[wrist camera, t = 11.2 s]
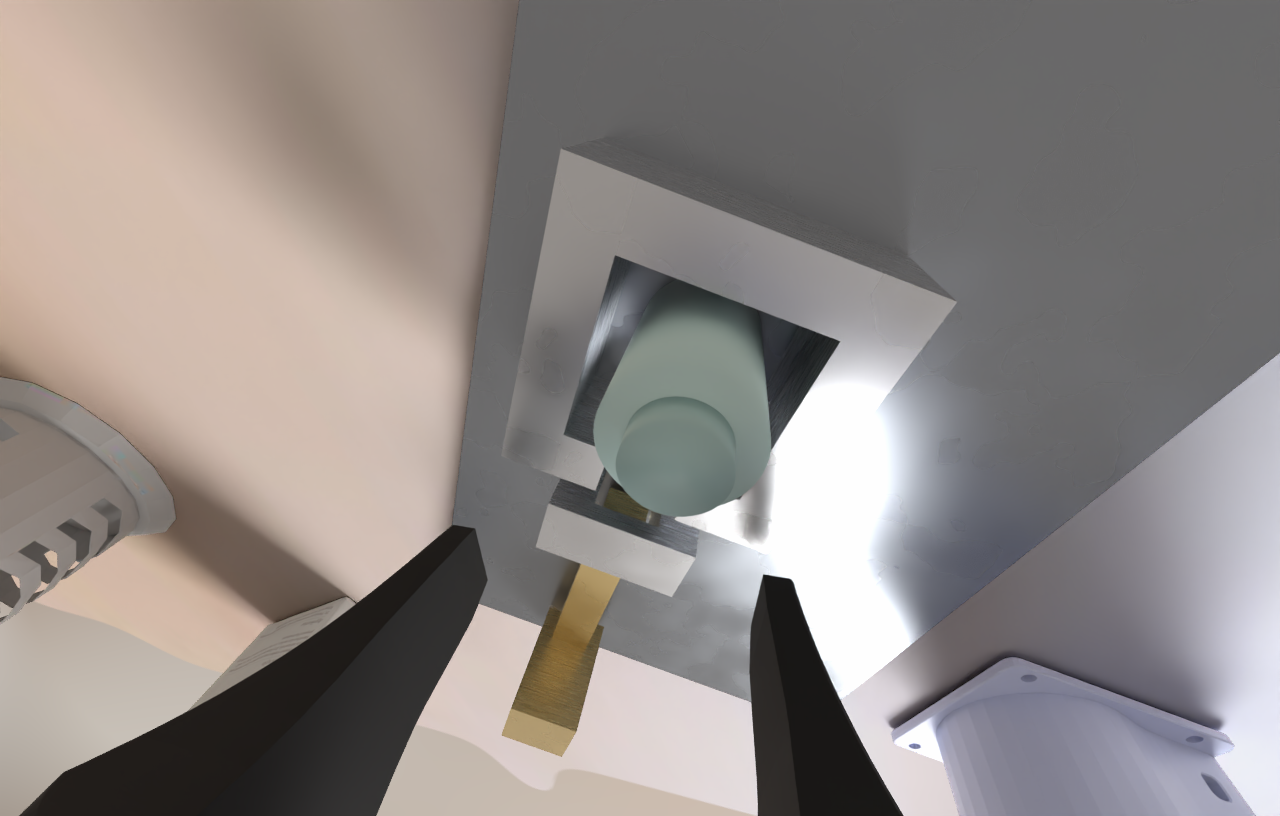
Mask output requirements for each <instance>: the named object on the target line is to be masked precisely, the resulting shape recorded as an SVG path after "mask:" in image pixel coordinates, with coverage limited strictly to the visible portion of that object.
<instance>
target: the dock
mask: <svg viewBox="0 0 1280 816" xmlns="http://www.w3.org/2000/svg"><path fill="white" fill-rule="evenodd" d="M677 279H679V280H681V281H684V282H687V283H689V284H692V285H695V286H697V287H700V288H702V289H705V290H708V291H710V292H713V293H715V294H718V295H721V296H723V297H726V298H729V299H731V300H734V301H736V302H739V303H742V304H744V305H747V306H749V307H752V308H755V309H756V310H757V312H758V315H759V318H760V323H761V331H762V342H763V353H764V365H765V376H766V387H767V398H768V410H769V421H770V432H771V452H770V458H769V461H768V464H767V467H766V468H765V470H764V472H763V474H762V476H761V477H760V478H759V480H758V481H757V482H756V484H755V485H754V486H753V487H752V488H751V489H750V490H748V491H747V492H746V493H744V494H743V495H742V496H740V497H738V498H736V499H735V500H733V501H731V502H728V503H726V504H724V505H720V506H718V507H716V508H714V509H713V510H711V511H708V512H706V513H703V514H700V515H695V516H687V517H676V516H668V515H663V514H660V513H657V512H654V511H652V510H648V514H647V519H646V522H643V521H640V520H638V519H635V518H632V517H630V516H627V515H624V514H622V513H619V512H616V511H613V510H611V509H608V508H605V507H603V504H604V502H605V499H606V497H607V494H608V491H609V489H610V488H613V489H616V490H619V491H621V492H624V493H626V491H625V490H624V488H623V487H622V486H621V485H620V484H618V483H617V482H616V481H615V480H614V479H613V478H612V476H611V475H610V474H609V473H608V471H607V470H606V469H605V467H604V466H603V464H602V462H601V460H600V458H599V456H598V453H597V451H596V447H595V443H594V434H593V429H594V420H595V416H596V412H597V410H598V408H599V405H600V403H601V401H602V399H603V397H604V395H605V393H606V391H607V388H608V386H609V384H610V382H611V380H612V378H613V376H614V374H615V372H616V370H617V368H618V366H619V363H620V361H621V359H622V357H623V355H624V353H625V351H626V349H627V347H628V345H629V343H630V340H631V338H632V336H633V334H634V332H635V330H636V328H637V326H638V324H639V322H640V320H641V317H642V315H643V313H644V311H645V309H646V307H647V305H648V304H649V302H650V300H651V299H652V298H653V297H654V295H655V294H656V293H657V292H658V291H659V290H660V289H662V288H663V287H664V286H666V285H667V284H669V283H671V282H673V281H675V280H677ZM1279 353H1280V0H519V6H518V14H517V22H516V30H515V38H514V45H513V53H512V61H511V69H510V77H509V84H508V92H507V100H506V108H505V116H504V123H503V131H502V139H501V147H500V155H499V162H498V170H497V178H496V186H495V194H494V201H493V209H492V217H491V225H490V233H489V240H488V248H487V256H486V264H485V272H484V279H483V287H482V295H481V303H480V311H479V318H478V326H477V334H476V342H475V350H474V357H473V365H472V373H471V381H470V389H469V397H468V404H467V412H466V420H465V428H464V436H463V443H462V451H461V459H460V467H459V475H458V482H457V490H456V498H455V506H454V514H453V521H452V525H458V526H464V527H470V528H475V529H476V534H477V538H478V542H479V546H480V550H481V554H482V558H483V562H484V567H485V571H486V575H487V579H488V581H487V584H486V586H485V589H484V591H483V594H482V597H481V599H480V602H479V604H481V605H484V606H487V607H490V608H493V609H495V610H498V611H501V612H504V613H506V614H509V615H512V616H515V617H517V618H520V619H523V620H526V621H528V622H531V623H534V624H537V625H539V626H542V627H543V624H544V621H545V619H546V616H547V613H548V611H549V608H550V607H551V608H554V609H557V610H559V611H562V608H563V606H564V603H565V600H566V598H567V595H568V593H569V590H570V588H571V585H572V583H573V580H574V578H575V575H576V573H577V570H578V567H579V565H580V564H583V565H586V566H588V567H591V568H594V569H597V570H599V571H602V572H605V573H607V574H610V575H613V576H616V577H618V578H620V580H619V582H618V584H617V586H616V588H615V590H614V592H613V594H612V596H611V598H610V600H609V602H608V604H607V606H606V608H605V610H604V612H603V614H602V616H601V618H600V620H599V622H598V625H601V626H603V627H604V629H603V633H602V637H601V641H600V644H599V647H600V648H603V649H606V650H609V651H611V652H614V653H617V654H620V655H622V656H625V657H628V658H631V659H633V660H636V661H639V662H642V663H644V664H647V665H650V666H653V667H656V668H658V669H661V670H664V671H667V672H669V673H672V674H675V675H678V676H680V677H683V678H686V679H689V680H691V681H694V682H697V683H700V684H703V685H705V686H708V687H711V688H714V689H716V690H719V691H722V692H725V693H727V694H730V695H733V696H736V697H738V698H741V699H744V700H747V701H749V702H751V689H750V674H749V666H750V630H751V623H752V619H753V614H754V610H755V606H756V602H757V598H758V594H759V589H760V585H761V581H762V577H763V574H765V575H771V576H777V577H783V578H790V579H791V580H792V581H793V582H794V585H795V588H796V592H797V595H798V598H799V601H800V604H801V607H802V610H803V613H804V616H805V618H806V621H807V624H808V626H809V629H810V631H811V634H812V637H813V639H814V642H815V644H816V647H817V649H818V651H819V654H820V656H821V658H822V661H823V663H824V665H825V667H826V670H827V672H828V674H829V677H830V679H831V681H832V683H833V686H834V688H835V690H836V692H837V694H838V696H839V698H840V700H842V699H843V698H844V697H845V696H847V695H848V694H849V693H851V692H852V691H853V690H854V689H856V688H857V687H858V686H859V685H861V684H862V683H863V682H864V681H866V680H867V679H868V678H869V677H871V676H872V675H873V674H875V673H876V672H877V671H878V670H880V669H881V668H882V667H883V666H885V665H886V664H887V663H888V662H890V661H891V660H892V659H893V658H895V657H896V656H897V655H899V654H900V653H901V652H902V651H904V650H905V649H906V648H907V647H909V646H910V645H911V644H912V643H914V642H915V641H916V640H917V639H919V638H920V637H921V636H923V635H924V634H925V633H926V632H928V631H929V630H930V629H931V628H933V627H934V626H935V625H936V624H938V623H939V622H940V621H942V620H943V619H944V618H945V617H947V616H948V615H949V614H950V613H952V612H953V611H954V610H955V609H957V608H958V607H959V606H960V605H962V604H963V603H964V602H966V601H967V600H968V599H969V598H971V597H972V596H973V595H974V594H976V593H977V592H978V591H979V590H981V589H982V588H983V587H984V586H986V585H987V584H988V583H990V582H991V581H992V580H993V579H995V578H996V577H997V576H998V575H1000V574H1001V573H1002V572H1003V571H1005V570H1006V569H1007V568H1008V567H1010V566H1011V565H1012V564H1014V563H1015V562H1016V561H1017V560H1019V559H1020V558H1021V557H1022V556H1024V555H1025V554H1026V553H1027V552H1029V551H1030V550H1031V549H1032V548H1034V547H1035V546H1036V545H1038V544H1039V543H1040V542H1041V541H1043V540H1044V539H1045V538H1046V537H1048V536H1049V535H1050V534H1051V533H1053V532H1054V531H1055V530H1056V529H1058V528H1059V527H1060V526H1062V525H1063V524H1064V523H1065V522H1067V521H1068V520H1069V519H1070V518H1072V517H1073V516H1074V515H1075V514H1077V513H1078V512H1079V511H1081V510H1082V509H1083V508H1084V507H1086V506H1087V505H1088V504H1089V503H1091V502H1092V501H1093V500H1094V499H1096V498H1097V497H1098V496H1099V495H1101V494H1102V493H1103V492H1105V491H1106V490H1107V489H1108V488H1110V487H1111V486H1112V485H1113V484H1115V483H1116V482H1117V481H1118V480H1120V479H1121V478H1122V477H1123V476H1125V475H1126V474H1127V473H1129V472H1130V471H1131V470H1132V469H1134V468H1135V467H1136V466H1137V465H1139V464H1140V463H1141V462H1142V461H1144V460H1145V459H1146V458H1147V457H1149V456H1150V455H1151V454H1153V453H1154V452H1155V451H1156V450H1158V449H1159V448H1160V447H1161V446H1163V445H1164V444H1165V443H1166V442H1168V441H1169V440H1170V439H1171V438H1173V437H1174V436H1175V435H1177V434H1178V433H1179V432H1180V431H1182V430H1183V429H1184V428H1185V427H1187V426H1188V425H1189V424H1190V423H1192V422H1193V421H1194V420H1195V419H1197V418H1198V417H1199V416H1201V415H1202V414H1203V413H1204V412H1206V411H1207V410H1208V409H1209V408H1211V407H1212V406H1213V405H1214V404H1216V403H1217V402H1218V401H1220V400H1221V399H1222V398H1223V397H1225V396H1226V395H1227V394H1228V393H1230V392H1231V391H1232V390H1233V389H1235V388H1236V387H1237V386H1238V385H1240V384H1241V383H1242V382H1244V381H1245V380H1246V379H1247V378H1249V377H1250V376H1251V375H1252V374H1254V373H1255V372H1256V371H1257V370H1259V369H1260V368H1261V367H1262V366H1264V365H1265V364H1266V363H1268V362H1269V361H1270V360H1271V359H1273V358H1274V357H1275V356H1276V355H1278V354H1279Z"/></svg>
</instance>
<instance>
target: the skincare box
mask: <svg viewBox="0 0 1280 816" xmlns="http://www.w3.org/2000/svg"><path fill="white" fill-rule="evenodd" d="M355 604H356V603H355V602H354V601H352V600H351V599H350V598H348V597H344V598H341V599H338V600H336V601H333V602H330V603H328V604H325V605H322V606H319V607H317V608H314V609H311V610H309V611H306V612H303V613H300V614H297V615H295V616H292V617H289V618H287V619H285V620H282V621H279V622H276V623H273V624H270V625H268V626H267V627H266V628H265V629H264V630H263V631H262V632H261V633H260V634H259V635H258V636H257V638H256V639H255V640H254V641H253V642H252V643H251V644H250V645H249V646H248V647H247V648H246V649H245V650H244V651H243V652H242V654H241V655H240V656H239V657H238V658H237V659H236V660H235V661H234V662H233V663H232V664H231V665H230V666H229V668H228V669H227V670H226V671H225V672H224V673H223V674H222V675H221V676H220V677H219V678H218V679H217V680H216V681H215V683H214V684H213V685H212V686H211V687H210V688H209V689H208V690H207V691H206V692H205V693H204V694H203V695H202V697H201V698H200V699H199V700H198V701H197V702H196V703H195V704H194V705H193V706H192V707H191V708H190V709H189V710H191V709H193V708H195V707H197V706H198V705H200V704H202V703H204V702H206V701H207V700H209V699H211V698H213V697H215V696H217V695H218V694H220V693H222V692H224V691H225V690H227V689H229V688H230V687H232V686H234V685H235V684H237V683H239V682H240V681H242V680H244V679H245V678H247V677H249V676H250V675H252V674H254V673H255V672H257V671H259V670H260V669H262V668H264V667H265V666H267V665H269V664H270V663H272V662H273V661H275V660H277V659H278V658H280V657H281V656H283V655H285V654H286V653H288V652H289V651H291V650H292V649H294V648H295V647H297V646H298V645H300V644H301V643H303V642H304V641H306V640H307V639H309V638H310V637H311V636H313V635H314V634H316V633H317V632H319V631H320V630H321V629H323V628H324V627H326V626H327V625H329V624H330V623H331V622H333V621H334V620H335V619H337V618H338V617H339V616H341V615H342V614H343V613H345V612H346V611H347V610H349V609H350V608H351V607H353V606H354V605H355ZM189 710H188V711H189Z"/></svg>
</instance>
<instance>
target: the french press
mask: <svg viewBox="0 0 1280 816" xmlns="http://www.w3.org/2000/svg"><path fill="white" fill-rule="evenodd" d="M175 520H176V515H175V508H174V502H173V496H172V495H171V493H170V492H169V490H168V488H167V487H166V485H165V484H164V482H163V481H162V479H161V477H160V476H159V474H158V473H157V471H156V470H155V468H154V467H153V466H152V465H151V464H150V463H149V462H148V461H147V460H146V459H145V458H144V457H143V456H142V455H141V454H140V453H139V452H138V451H137V450H136V449H135V448H134V447H133V446H132V445H131V444H130V443H129V442H128V441H127V440H126V439H125V438H124V437H123V436H122V435H121V434H120V433H119V432H117V431H116V430H114V429H113V428H111V427H110V426H108V425H107V424H106V423H104V422H103V421H101V420H100V419H98V418H97V417H96V416H94V415H93V414H91V413H90V412H88V411H87V410H86V409H84V408H83V407H81V406H80V405H78V404H77V403H75V402H72V401H70V400H68V399H66V398H64V397H62V396H60V395H57V394H55V393H53V392H51V391H49V390H47V389H45V388H42V387H40V386H38V385H36V384H34V383H30V382H25V381H19V380H14V379H9V378H3V377H0V601H1V602H3V603H4V604H6V605H8V606H9V607H11V608H13V609H12V611H11V612H10V614H9V615H7V616H5V617H2V618H0V624H2V623H3V622H5V621H6V620H8V619H10V618H11V617H13V616H14V615H16V614H17V613H18V612H19V611H20V610H21V609H22V607H23V606H24V605H25V604H27V603H30V602H33V601H34V600H36V599H37V598H39V597H40V596H42V595H43V594H45V593H46V592H48V591H49V590H51V589H53V588H54V587H55V586H56V584H57V583H58V582H59V581H60V580H62V579H65V578H67V577H69V576H70V575H72V574H73V573H74V572H76V571H77V570H79V569H80V568H82V567H83V566H84V565H85V564H86V563H87V562H88V561H89V560H90V559H91V558H94V557H97V556H99V555H100V554H101V553H103V552H104V551H106V550H107V549H108V548H110V547H111V546H113V545H114V544H115V543H117V542H118V541H120V540H121V539H123V538H124V537H125V536H136V535H148V534H155V533H162V532H166V531H167V530H168V528H169V527H170V526H171V525H172V523H173V522H174V521H175ZM50 550H52V551H54V552H56V553H57V566H58V568H56V567H54V566H52V565H50V563H49V562H48V560H47V558H46V557H45V555H44V554H45V553H47V552H48V551H50ZM75 561H77V562H80V563H79V564H78V565H77V566H76V567H75V568H74V569H70V570H69V568H70V567H71V566H72V565H73V563H74V562H75ZM11 575H13V576H15V577H18V578H20V589H19V588H18V587H17V586H16V584H15V582H14V580H13V578H12V577H11ZM41 581H43V582H45V583H47V584H48V583H50V584H49V585H48V587H47V588H46V589H45V590H43V591H40V592H37V593H35V591H36V590H37V589H38V588H39V586H40V585H41Z"/></svg>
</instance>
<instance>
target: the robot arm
mask: <svg viewBox="0 0 1280 816" xmlns="http://www.w3.org/2000/svg"><path fill="white" fill-rule="evenodd" d="M487 581H488V579H487V575H486V571H485V567H484V562H483V558H482V554H481V550H480V546H479V542H478V538H477V534H476V529H475V528H470V527H464V526H458V525H452V526H451V527H450V528H449V529H447V530H446V531H445V532H444V533H442V534H441V535H440V536H439V537H438V538H436V539H435V540H434V541H433V542H432V543H430V544H429V545H428V546H427V547H426V548H425V549H423V550H422V551H421V552H420V553H419V554H417V555H416V556H415V557H414V558H413V559H411V560H410V561H409V562H408V563H407V564H405V565H404V566H403V567H402V568H401V569H399V570H398V571H397V572H396V573H395V574H393V575H392V576H391V577H390V578H388V579H387V580H386V581H385V582H383V583H382V584H381V585H380V586H378V587H377V588H376V589H375V590H374V591H372V592H371V593H370V594H368V595H367V596H366V597H365V598H363V599H362V600H361V601H359V602H358V603H357V604H355V605H354V606H353V607H351V608H350V609H349V610H347V611H346V612H345V613H343V614H342V615H341V616H339V617H338V618H337V619H335V620H334V621H333V622H331V623H330V624H329V625H327V626H326V627H324V628H323V629H321V630H320V631H319V632H317V633H316V634H314V635H313V636H311V637H310V638H309V639H307V640H306V641H304V642H303V643H301V644H300V645H298V646H297V647H295V648H294V649H292V650H291V651H289V652H288V653H286V654H285V655H283V656H281V657H280V658H278V659H277V660H275V661H273V662H272V663H270V664H269V665H267V666H265V667H264V668H262V669H260V670H259V671H257V672H255V673H254V674H252V675H250V676H249V677H247V678H245V679H244V680H242V681H240V682H239V683H237V684H235V685H234V686H232V687H230V688H229V689H227V690H225V691H224V692H222V693H220V694H218V695H217V696H215V697H213V698H211V699H209V700H207V701H206V702H204V703H202V704H200V705H198V706H197V707H195V708H193V709H191V710H189V711H187V712H185V713H184V714H182V715H180V716H178V717H176V718H174V719H172V720H170V721H168V722H167V723H165V724H163V725H161V726H159V727H157V728H155V729H153V730H151V731H149V732H147V733H145V734H143V735H141V736H139V737H137V738H135V739H133V740H131V741H129V742H127V743H124V744H122V745H120V746H118V747H116V748H114V749H112V750H110V751H108V752H106V753H104V754H102V755H100V756H97V757H95V758H93V759H91V760H89V761H87V762H85V763H83V764H81V765H78V766H76V767H74V768H72V769H70V770H68V771H65V772H64V773H62V774H61V775H60V776H59V777H58V778H57V779H56V780H55V781H54V782H53V783H52V784H51V785H50V786H49V787H48V788H47V789H46V790H45V791H44V792H43V793H42V794H41V795H40V796H39V797H38V798H37V799H36V800H35V801H34V802H33V803H32V804H31V805H30V806H29V807H28V808H27V809H26V810H25V811H24V812H23V813H22V814H21V815H20V816H376V815H377V813H378V810H379V808H380V805H381V803H382V801H383V798H384V796H385V793H386V791H387V789H388V786H389V783H390V781H391V779H392V776H393V774H394V772H395V769H396V767H397V765H398V762H399V760H400V758H401V756H402V754H403V751H404V749H405V747H406V745H407V742H408V740H409V738H410V736H411V733H412V731H413V729H414V727H415V725H416V723H417V721H418V719H419V717H420V715H421V713H422V711H423V709H424V707H425V705H426V703H427V701H428V700H429V698H430V696H431V694H432V692H433V690H434V689H435V687H436V685H437V683H438V681H439V679H440V678H441V676H442V674H443V672H444V670H445V669H446V667H447V665H448V663H449V661H450V659H451V658H452V656H453V654H454V652H455V650H456V648H457V647H458V645H459V643H460V641H461V639H462V637H463V636H464V634H465V632H466V630H467V628H468V626H469V624H470V622H471V620H472V618H473V616H474V614H475V611H476V609H477V606H478V604H479V602H480V599H481V597H482V594H483V591H484V589H485V586H486V584H487ZM749 674H750V689H751V704H752V718H753V732H754V746H755V760H756V774H757V794H758V816H903V814H902V812H901V811H900V809H899V807H898V806H897V804H896V802H895V801H894V799H893V797H892V796H891V794H890V792H889V791H888V789H887V787H886V785H885V784H884V782H883V780H882V778H881V777H880V775H879V773H878V771H877V770H876V768H875V766H874V764H873V762H872V761H871V759H870V757H869V755H868V753H867V751H866V750H865V748H864V746H863V744H862V742H861V740H860V738H859V736H858V734H857V733H856V731H855V729H854V727H853V725H852V723H851V721H850V719H849V717H848V715H847V713H846V711H845V709H844V707H843V705H842V703H841V700H840V698H839V696H838V694H837V692H836V690H835V688H834V686H833V683H832V681H831V679H830V677H829V674H828V672H827V670H826V667H825V665H824V663H823V661H822V658H821V656H820V654H819V651H818V649H817V647H816V644H815V642H814V639H813V637H812V634H811V631H810V629H809V626H808V624H807V621H806V618H805V616H804V613H803V610H802V607H801V604H800V601H799V598H798V595H797V592H796V588H795V585H794V582H793V581H792V580H791V579H790V578H783V577H777V576H771V575H765V574H763V577H762V581H761V585H760V589H759V594H758V598H757V602H756V606H755V610H754V614H753V619H752V623H751V630H750V666H749ZM891 735H892V739H893V742H894V743H895V744H896V745H898V746H900V747H903V748H905V749H908V750H911V751H914V752H916V753H919V754H922V755H925V756H927V757H930V758H933V759H936V760H938V761H941V762H943V763H944V766H945V770H946V773H947V776H948V779H949V783H950V786H951V789H952V793H953V796H954V799H955V803H956V806H957V809H958V813H959V816H1256V815H1255V814H1254V813H1253V811H1252V810H1251V808H1250V807H1249V806H1248V804H1247V803H1246V801H1245V800H1244V799H1243V797H1242V796H1241V794H1240V793H1239V792H1238V790H1237V789H1236V787H1235V786H1234V785H1233V783H1232V782H1231V781H1230V779H1229V778H1228V776H1227V775H1226V774H1225V772H1224V771H1223V769H1222V768H1221V767H1220V765H1219V764H1218V762H1217V761H1216V760H1215V758H1214V757H1216V756H1219V755H1222V754H1225V753H1227V752H1230V751H1231V750H1233V748H1234V744H1233V743H1232V741H1231V740H1230V739H1229V738H1228V736H1227V735H1225V734H1224V733H1221V732H1219V731H1216V730H1213V729H1211V728H1208V727H1205V726H1202V725H1200V724H1197V723H1194V722H1192V721H1189V720H1186V719H1183V718H1181V717H1178V716H1175V715H1173V714H1170V713H1167V712H1164V711H1162V710H1159V709H1156V708H1154V707H1151V706H1148V705H1146V704H1143V703H1140V702H1137V701H1135V700H1132V699H1129V698H1127V697H1124V696H1121V695H1118V694H1116V693H1113V692H1110V691H1108V690H1105V689H1102V688H1100V687H1097V686H1094V685H1091V684H1089V683H1086V682H1083V681H1081V680H1078V679H1075V678H1072V677H1070V676H1067V675H1064V674H1062V673H1059V672H1056V671H1053V670H1051V669H1048V668H1045V667H1043V666H1040V665H1037V664H1035V663H1032V662H1029V661H1026V660H1024V659H1021V658H1017V657H1009V658H1005V659H1003V660H1001V661H999V662H998V663H996V664H995V665H993V666H991V667H990V668H988V669H987V670H985V671H984V672H982V673H981V674H979V675H978V676H976V677H975V678H973V679H971V680H970V681H968V682H967V683H965V684H964V685H962V686H961V687H959V688H958V689H956V690H955V691H953V692H951V693H950V694H948V695H947V696H945V697H944V698H942V699H941V700H939V701H938V702H936V703H935V704H933V705H932V706H930V707H928V708H927V709H925V710H924V711H922V712H921V713H919V714H918V715H916V716H915V717H913V718H912V719H910V720H908V721H907V722H905V723H904V724H902V725H901V726H899V727H898V728H896V729H895V730H893V731H892V733H891Z"/></svg>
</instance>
